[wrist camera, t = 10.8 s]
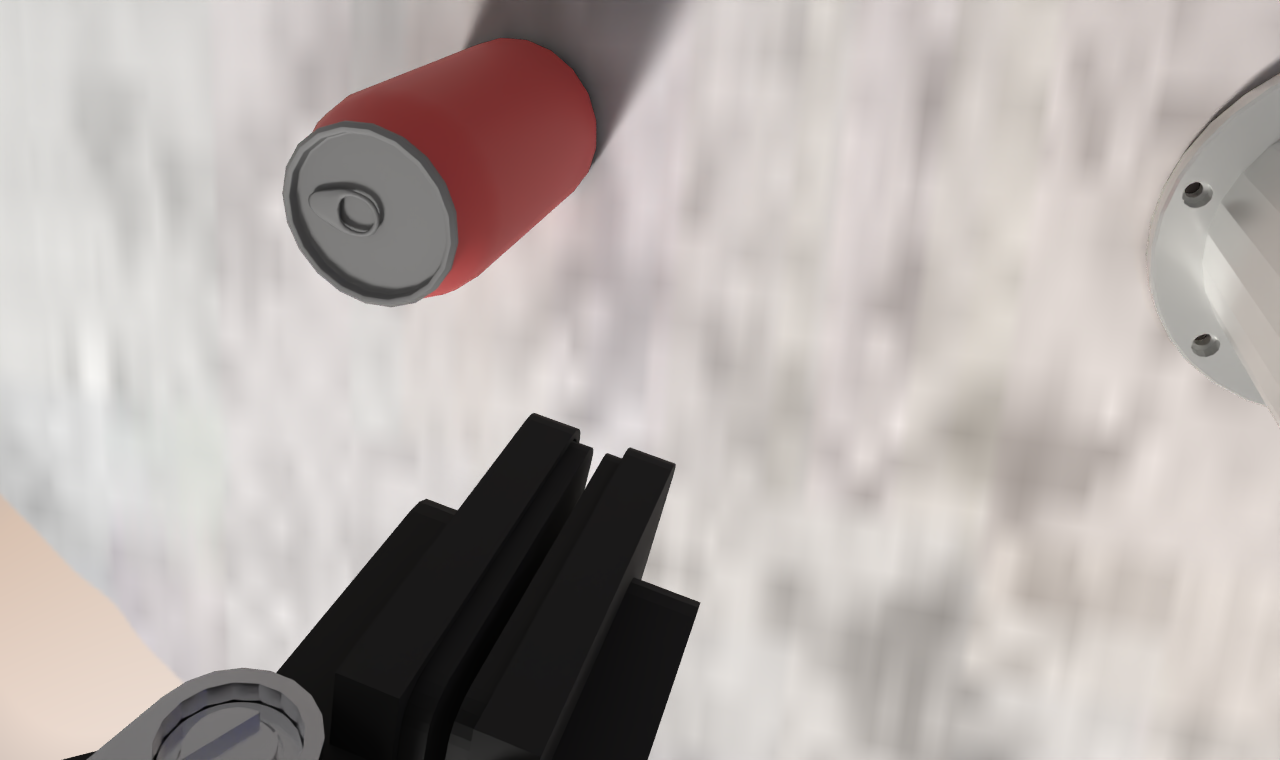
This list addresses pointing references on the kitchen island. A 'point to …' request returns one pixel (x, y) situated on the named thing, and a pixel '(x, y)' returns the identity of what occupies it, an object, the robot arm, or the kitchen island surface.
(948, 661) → the kitchen island surface
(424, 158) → the beer can
